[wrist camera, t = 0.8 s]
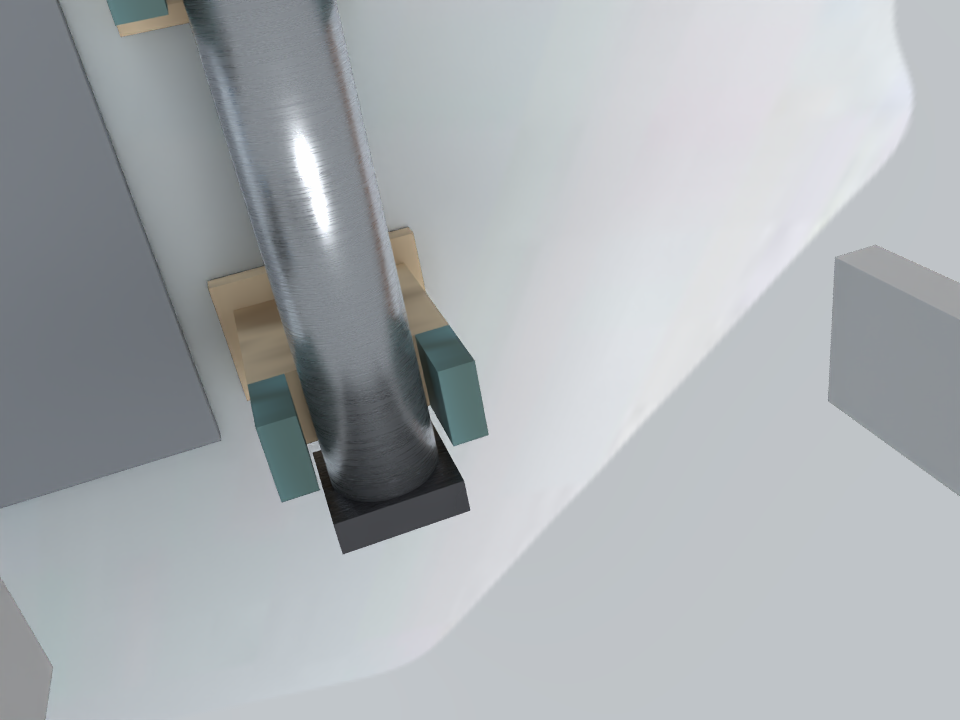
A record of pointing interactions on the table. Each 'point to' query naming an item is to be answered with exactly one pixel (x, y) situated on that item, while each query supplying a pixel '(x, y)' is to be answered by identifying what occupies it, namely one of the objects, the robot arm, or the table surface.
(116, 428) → the pad
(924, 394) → the robot arm
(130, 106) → the table surface
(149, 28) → the post near
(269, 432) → the post far
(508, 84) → the table surface
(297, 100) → the rail
